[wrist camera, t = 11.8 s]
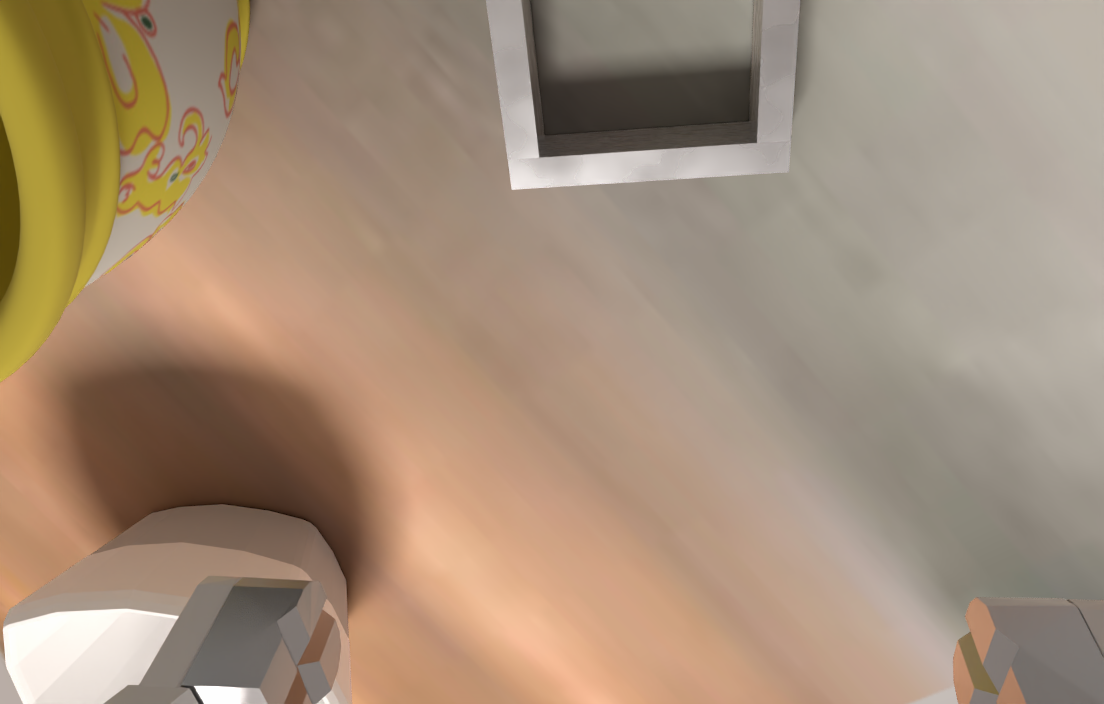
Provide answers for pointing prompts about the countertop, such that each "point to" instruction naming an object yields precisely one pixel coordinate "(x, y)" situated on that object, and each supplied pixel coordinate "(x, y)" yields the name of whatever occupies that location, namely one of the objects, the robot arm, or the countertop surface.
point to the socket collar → (647, 149)
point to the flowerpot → (101, 140)
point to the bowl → (157, 598)
